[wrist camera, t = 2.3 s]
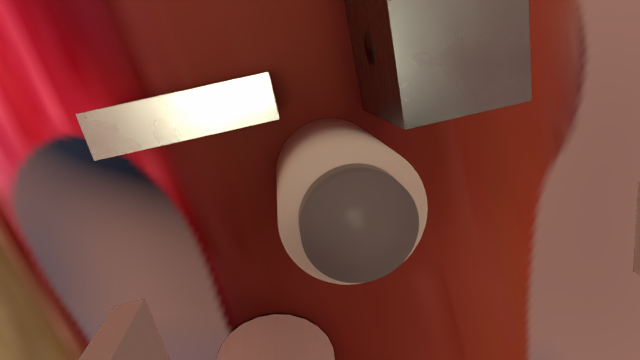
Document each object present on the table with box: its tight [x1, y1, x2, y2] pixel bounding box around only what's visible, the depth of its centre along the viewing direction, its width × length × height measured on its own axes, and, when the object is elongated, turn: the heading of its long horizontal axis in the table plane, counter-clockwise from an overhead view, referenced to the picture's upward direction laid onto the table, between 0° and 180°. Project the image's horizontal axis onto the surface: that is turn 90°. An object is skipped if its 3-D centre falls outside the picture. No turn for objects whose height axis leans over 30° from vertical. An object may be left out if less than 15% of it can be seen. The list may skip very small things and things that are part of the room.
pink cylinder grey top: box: [276, 118, 428, 285], centre depth 18 cm, size 6×6×8 cm
